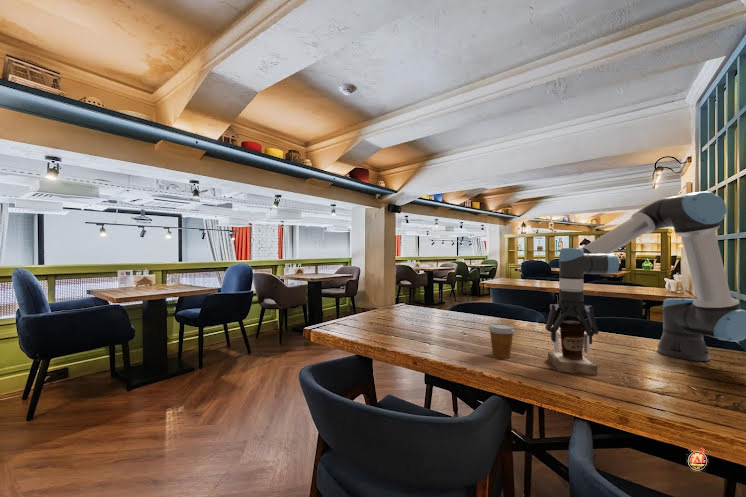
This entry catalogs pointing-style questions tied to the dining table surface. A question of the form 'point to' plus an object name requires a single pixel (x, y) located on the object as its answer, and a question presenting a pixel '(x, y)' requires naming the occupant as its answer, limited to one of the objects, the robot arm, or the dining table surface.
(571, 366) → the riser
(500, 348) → the disposable coffee cup
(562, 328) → the coffee cup
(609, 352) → the dining table surface
